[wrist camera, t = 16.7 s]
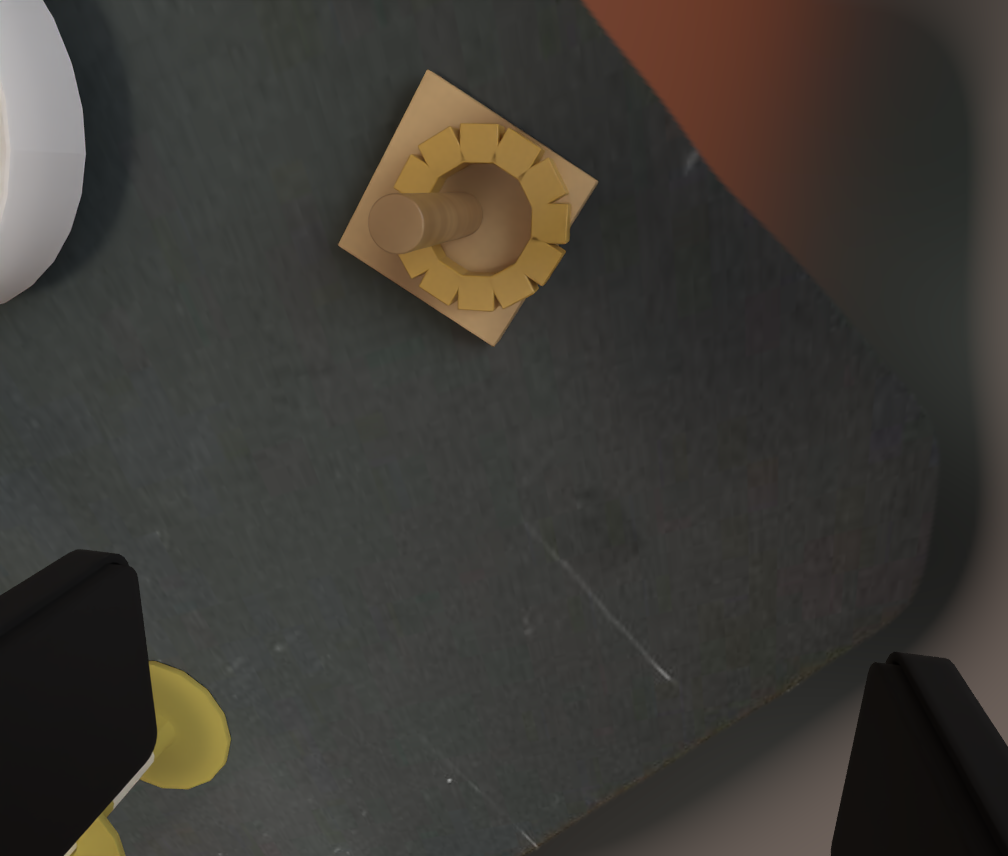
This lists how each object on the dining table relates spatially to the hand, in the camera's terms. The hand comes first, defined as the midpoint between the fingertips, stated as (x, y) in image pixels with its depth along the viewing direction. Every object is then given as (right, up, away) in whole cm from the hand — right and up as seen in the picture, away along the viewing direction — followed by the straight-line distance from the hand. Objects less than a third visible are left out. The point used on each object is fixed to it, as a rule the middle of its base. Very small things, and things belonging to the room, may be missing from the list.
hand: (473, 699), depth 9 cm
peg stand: (-1, +14, +27) cm, 30 cm away
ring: (-1, +13, +25) cm, 28 cm away
